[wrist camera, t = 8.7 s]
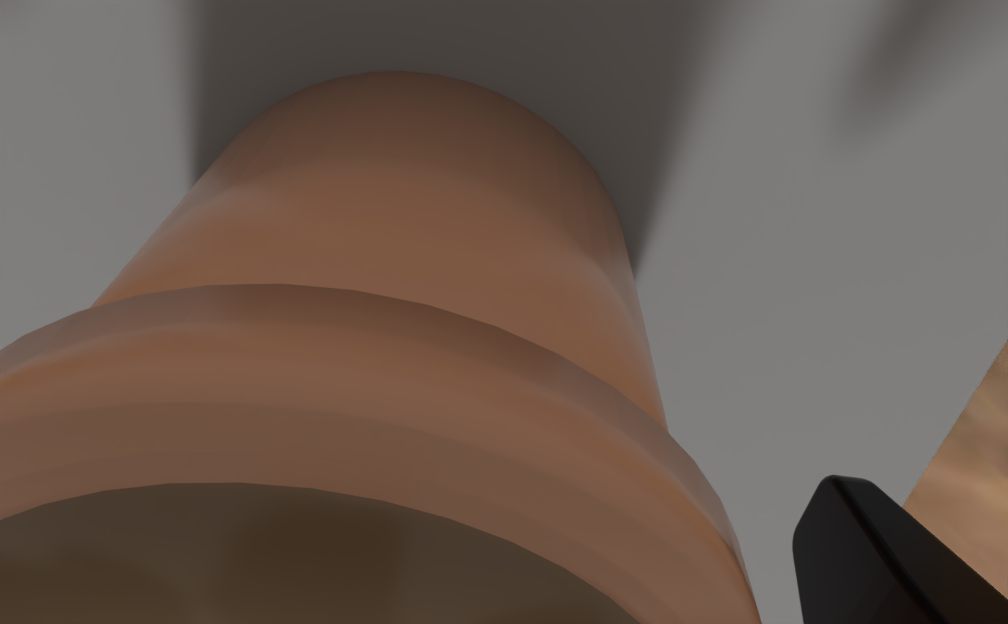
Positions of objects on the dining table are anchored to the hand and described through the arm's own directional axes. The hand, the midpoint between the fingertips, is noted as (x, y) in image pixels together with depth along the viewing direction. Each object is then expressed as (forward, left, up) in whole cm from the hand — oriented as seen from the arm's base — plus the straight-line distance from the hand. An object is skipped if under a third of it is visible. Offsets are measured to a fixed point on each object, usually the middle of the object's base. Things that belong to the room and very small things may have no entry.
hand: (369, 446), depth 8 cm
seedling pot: (0, 0, -3) cm, 3 cm away
